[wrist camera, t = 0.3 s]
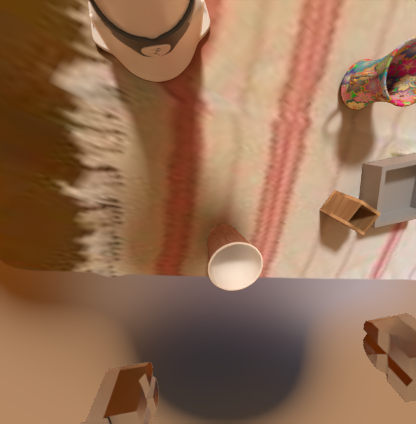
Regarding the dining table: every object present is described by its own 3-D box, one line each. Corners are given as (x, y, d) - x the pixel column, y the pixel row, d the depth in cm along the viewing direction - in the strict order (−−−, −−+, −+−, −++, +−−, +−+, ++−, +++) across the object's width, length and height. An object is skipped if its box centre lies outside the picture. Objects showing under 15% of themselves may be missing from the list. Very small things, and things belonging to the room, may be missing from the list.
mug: (385, 59, 42) (450, 36, 32) (372, 112, 45) (428, 106, 35) (328, 57, 40) (377, 32, 30) (319, 111, 43) (361, 105, 33)
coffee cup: (210, 263, 52) (219, 298, 41) (193, 227, 48) (199, 256, 37) (249, 247, 52) (269, 278, 41) (236, 210, 48) (254, 233, 37)
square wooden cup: (319, 210, 51) (344, 223, 44) (334, 190, 50) (362, 200, 42) (336, 220, 53) (363, 235, 45) (351, 201, 52) (381, 213, 44)
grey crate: (362, 163, 49) (382, 166, 44) (419, 152, 50) (444, 154, 45) (357, 219, 54) (374, 228, 49) (408, 208, 55) (430, 215, 50)
